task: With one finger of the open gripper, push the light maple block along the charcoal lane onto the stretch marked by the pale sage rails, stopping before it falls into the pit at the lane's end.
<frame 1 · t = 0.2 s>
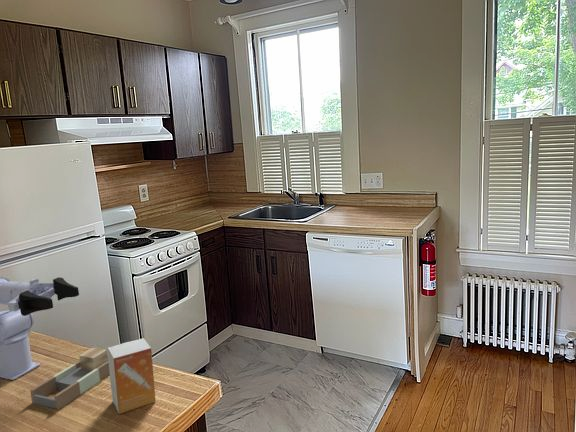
hand: (64, 297, 103), 22 cm above the counter, tool horizontal, fingers open, 7 cm apart
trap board: (79, 383, 106), on the counter
small box: (134, 402, 98), on the counter
maple block: (94, 365, 111), point 2 cm above the counter, touching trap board
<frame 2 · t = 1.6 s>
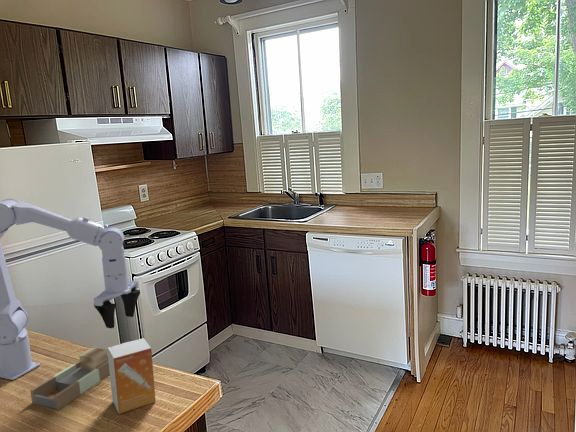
hand: (120, 321, 119), 9 cm above the counter, tool pointing down, fingers open, 7 cm apart
nothing on the counter moved.
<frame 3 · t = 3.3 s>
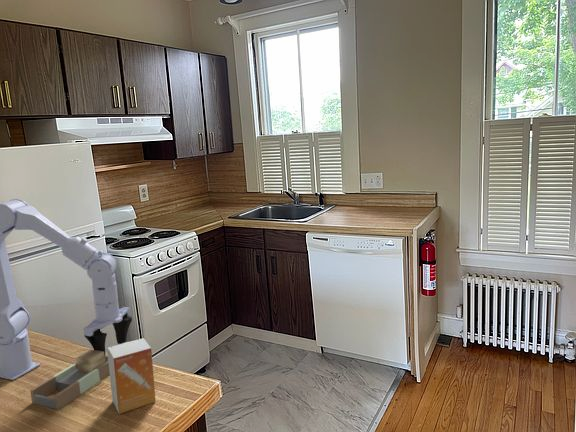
hand: (111, 350, 116), 3 cm above the counter, tool pointing down, fingers open, 7 cm apart
maple block: (91, 367, 110), point 2 cm above the counter, touching gripper
everything else where it was.
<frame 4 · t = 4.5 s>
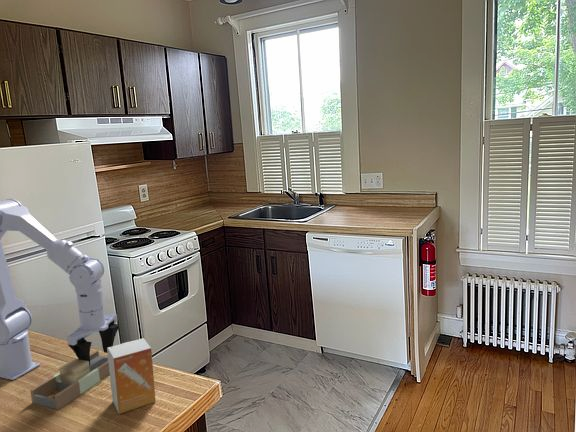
hand: (97, 359, 111), 3 cm above the counter, tool pointing down, fingers open, 7 cm apart
maple block: (75, 377, 105), point 2 cm above the counter, touching gripper, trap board
everything else where it was.
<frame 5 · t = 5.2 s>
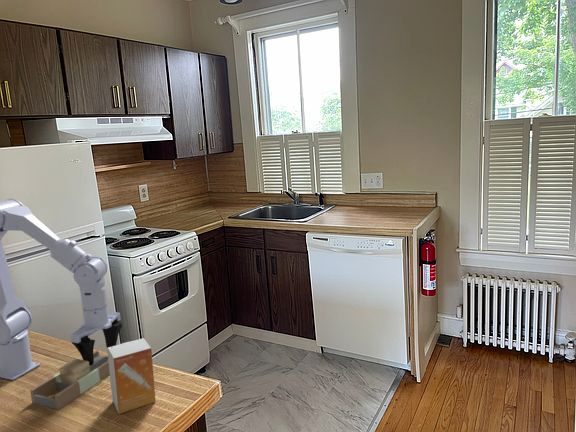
hand: (100, 357, 112), 3 cm above the counter, tool pointing down, fingers open, 7 cm apart
maple block: (75, 378, 105), point 2 cm above the counter, touching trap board
everything else where it was.
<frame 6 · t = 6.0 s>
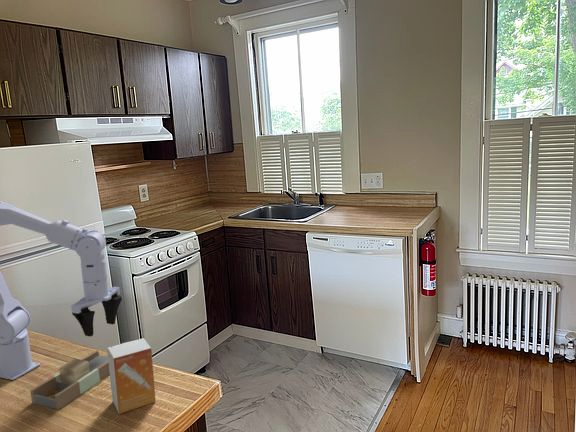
hand: (100, 329, 114), 9 cm above the counter, tool pointing down, fingers open, 7 cm apart
nothing on the counter moved.
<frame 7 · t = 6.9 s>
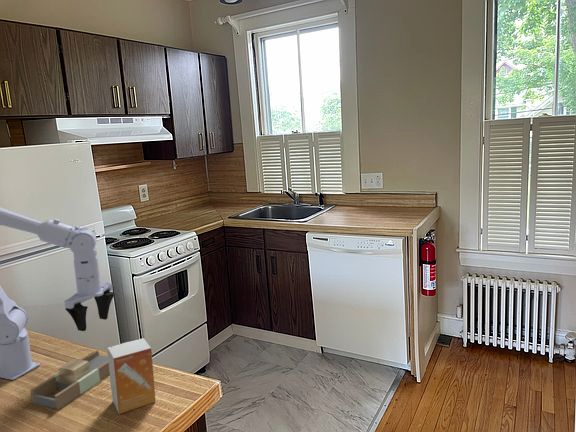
hand: (93, 324, 118), 9 cm above the counter, tool pointing down, fingers open, 7 cm apart
nothing on the counter moved.
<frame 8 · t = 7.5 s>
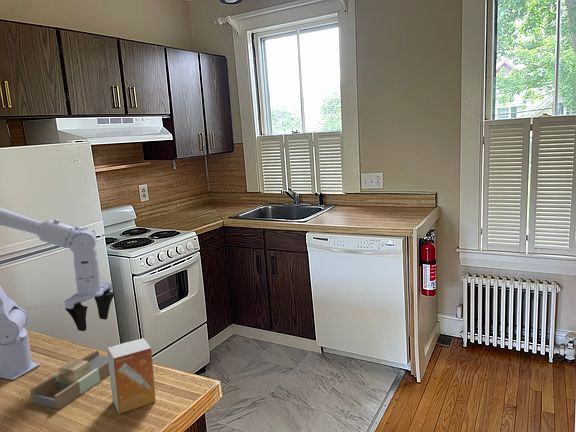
hand: (93, 324, 118), 9 cm above the counter, tool pointing down, fingers open, 7 cm apart
nothing on the counter moved.
at the end: maple block 0.6 cm from the target spot, point 2.0 cm above the counter; maple block tilted 0° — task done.
